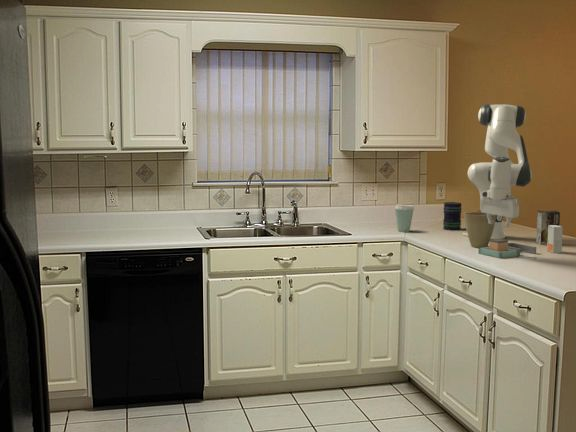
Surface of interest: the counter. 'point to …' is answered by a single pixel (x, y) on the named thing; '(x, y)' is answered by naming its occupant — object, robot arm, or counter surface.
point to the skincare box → (554, 239)
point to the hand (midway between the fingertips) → (498, 225)
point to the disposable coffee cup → (404, 217)
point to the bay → (522, 248)
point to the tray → (498, 253)
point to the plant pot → (478, 228)
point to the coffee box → (546, 224)
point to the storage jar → (452, 216)
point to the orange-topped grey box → (498, 245)
